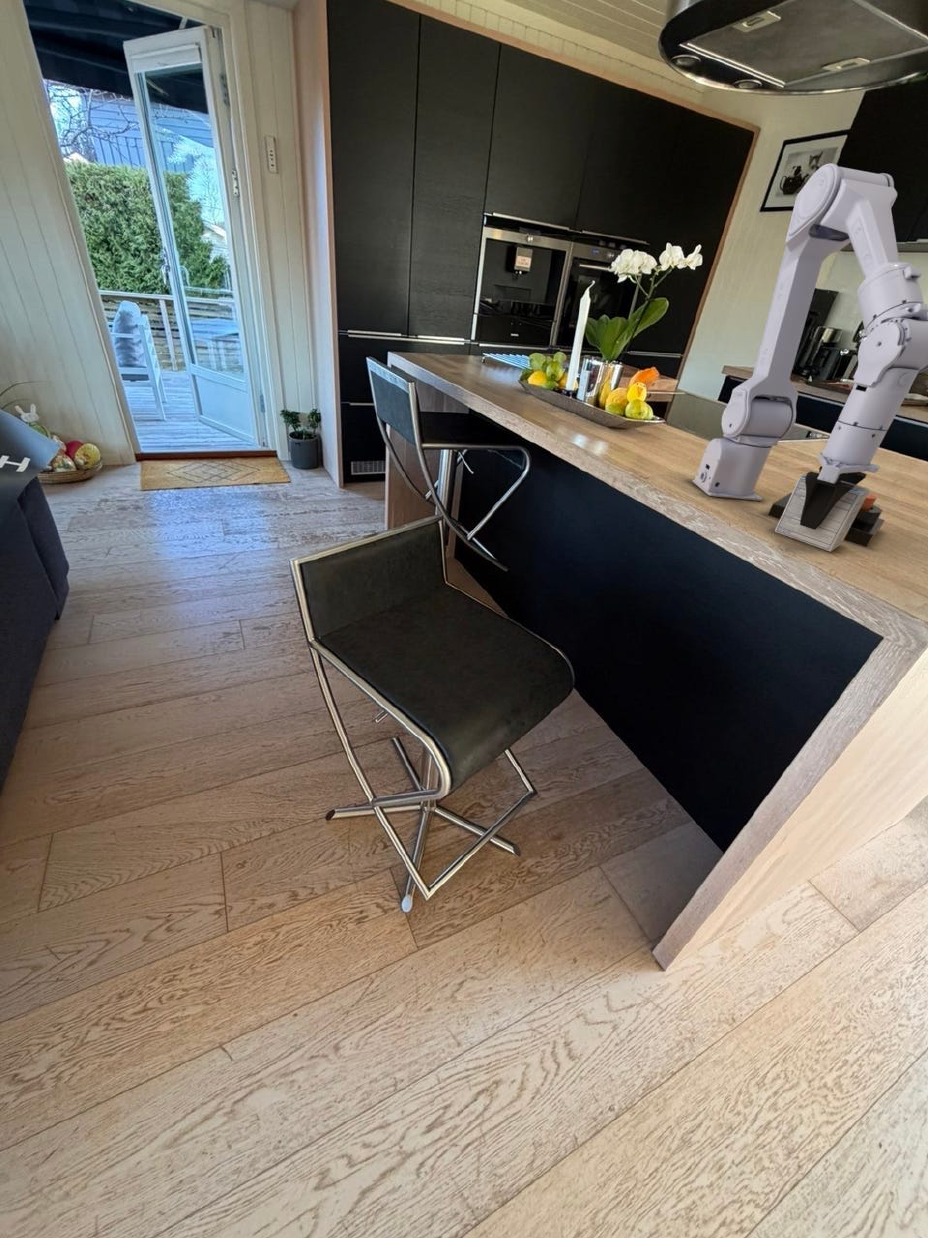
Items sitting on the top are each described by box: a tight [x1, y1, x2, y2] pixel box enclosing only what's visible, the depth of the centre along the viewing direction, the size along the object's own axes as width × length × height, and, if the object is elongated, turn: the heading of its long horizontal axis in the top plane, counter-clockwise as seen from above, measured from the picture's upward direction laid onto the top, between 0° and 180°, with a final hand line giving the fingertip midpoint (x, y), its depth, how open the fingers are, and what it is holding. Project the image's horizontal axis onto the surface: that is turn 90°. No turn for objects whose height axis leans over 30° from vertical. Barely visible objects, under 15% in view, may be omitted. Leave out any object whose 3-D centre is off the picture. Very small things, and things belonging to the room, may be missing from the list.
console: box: [767, 492, 885, 548], centre depth 82 cm, size 10×14×4 cm
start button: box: [860, 492, 877, 510], centre depth 80 cm, size 4×4×2 cm
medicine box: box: [774, 473, 870, 553], centre depth 74 cm, size 8×4×9 cm, turn 40°
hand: (813, 522), depth 75 cm, fingers open, 5 cm apart
